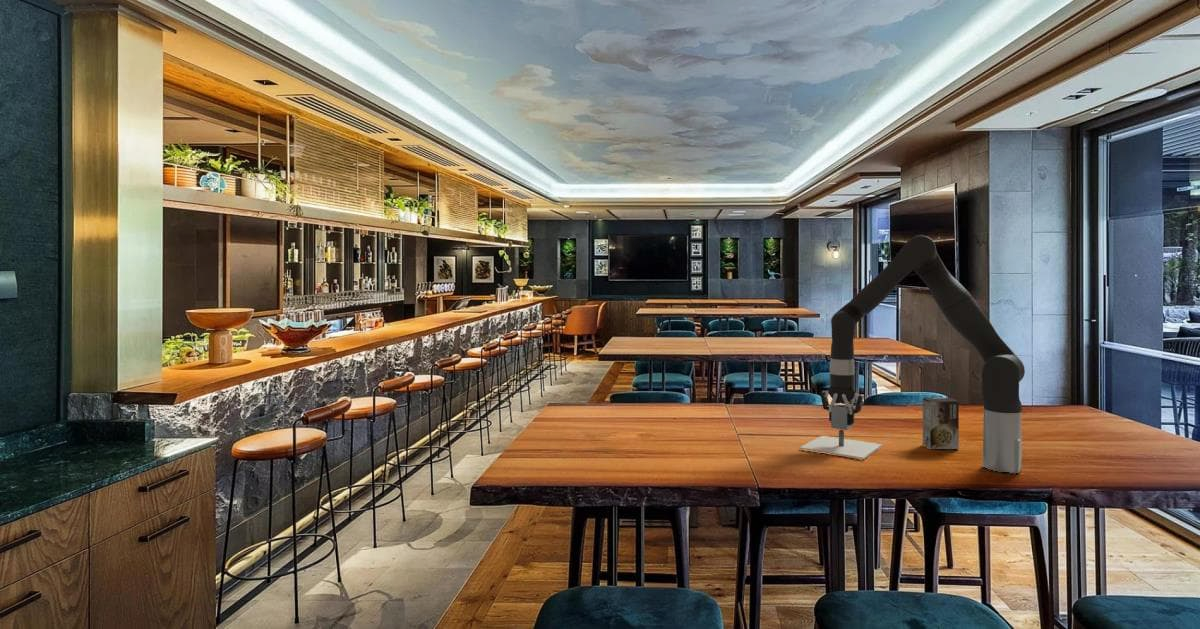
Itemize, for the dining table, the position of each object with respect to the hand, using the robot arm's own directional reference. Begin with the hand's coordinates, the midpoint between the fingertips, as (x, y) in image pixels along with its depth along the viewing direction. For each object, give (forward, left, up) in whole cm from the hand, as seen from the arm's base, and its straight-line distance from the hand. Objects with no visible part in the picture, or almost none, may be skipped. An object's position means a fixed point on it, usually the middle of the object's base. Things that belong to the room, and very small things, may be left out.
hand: (841, 423), depth 207 cm
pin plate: (0, 0, -8) cm, 8 cm away
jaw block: (0, 0, -1) cm, 1 cm away
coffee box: (-25, -21, -8) cm, 34 cm away
